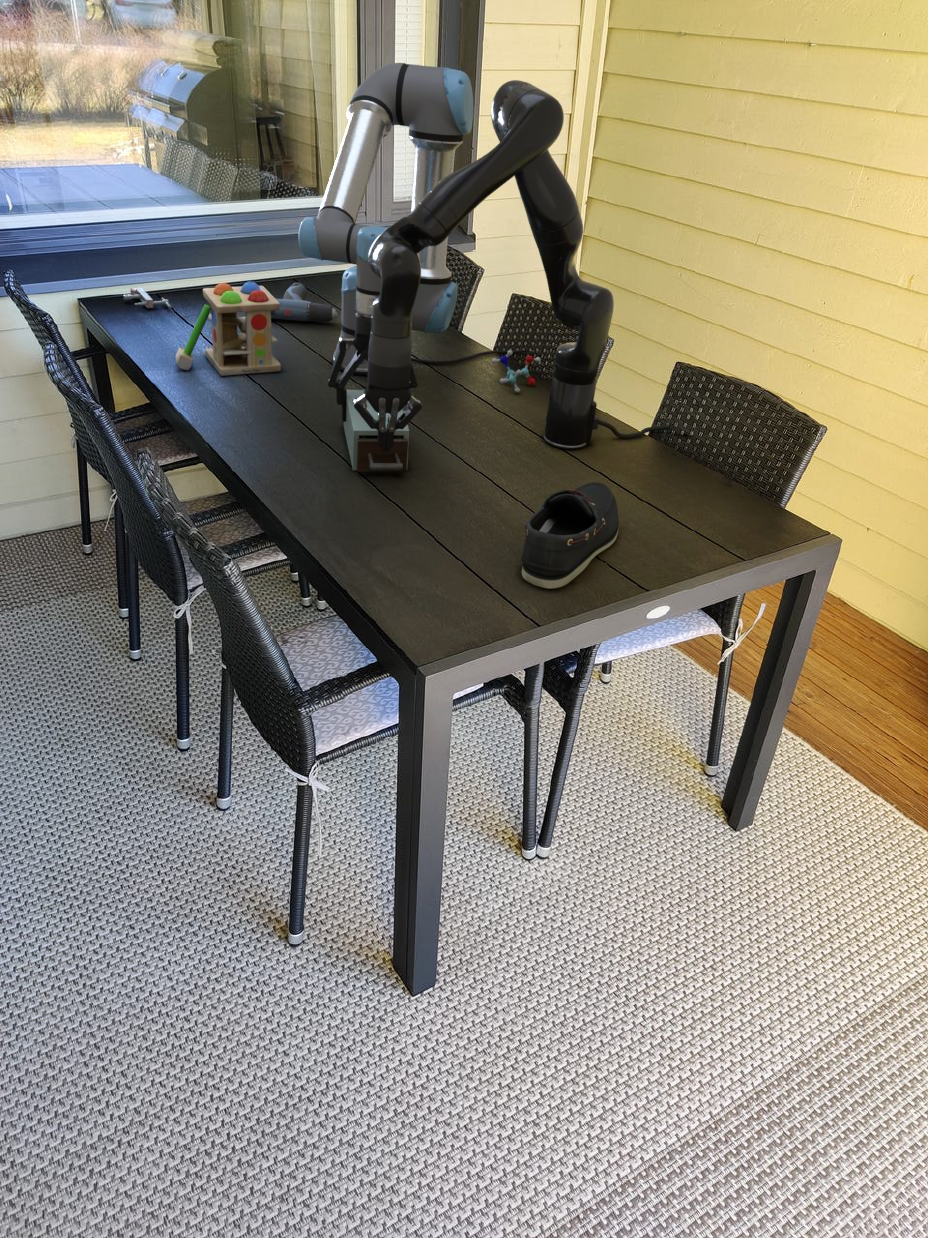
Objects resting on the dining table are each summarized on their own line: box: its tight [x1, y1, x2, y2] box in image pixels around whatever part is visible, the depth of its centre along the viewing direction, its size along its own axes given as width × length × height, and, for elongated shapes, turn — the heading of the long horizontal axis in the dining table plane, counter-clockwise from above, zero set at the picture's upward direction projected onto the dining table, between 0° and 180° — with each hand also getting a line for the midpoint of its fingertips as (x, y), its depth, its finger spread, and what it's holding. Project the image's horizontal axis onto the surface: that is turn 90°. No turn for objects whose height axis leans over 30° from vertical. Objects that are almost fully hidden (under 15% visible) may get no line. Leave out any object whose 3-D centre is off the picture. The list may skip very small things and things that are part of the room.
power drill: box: [271, 282, 338, 322], centre depth 265 cm, size 5×19×20 cm
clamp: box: [122, 287, 173, 309], centre depth 261 cm, size 15×2×10 cm
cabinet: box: [343, 389, 410, 471], centre depth 197 cm, size 20×11×8 cm, turn 11°
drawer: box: [356, 435, 409, 473], centre depth 192 cm, size 25×10×6 cm, turn 11°
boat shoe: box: [520, 481, 620, 590], centre depth 170 cm, size 13×33×10 cm, turn 147°
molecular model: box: [491, 349, 541, 394], centre depth 232 cm, size 12×10×10 cm
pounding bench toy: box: [174, 281, 282, 377], centre depth 225 cm, size 23×14×18 cm, turn 116°
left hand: (371, 419), depth 203 cm, fingers closed on cabinet, 11 cm apart
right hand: (385, 448), depth 182 cm, fingers closed
